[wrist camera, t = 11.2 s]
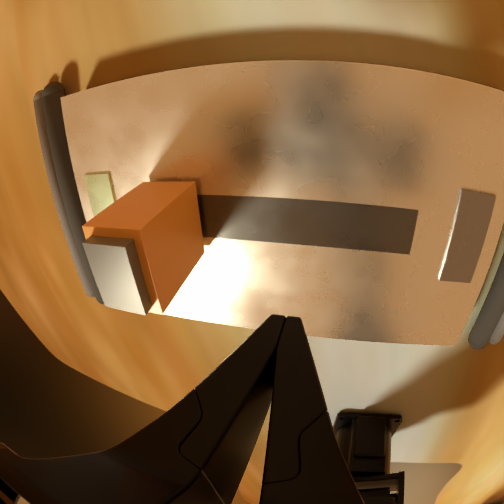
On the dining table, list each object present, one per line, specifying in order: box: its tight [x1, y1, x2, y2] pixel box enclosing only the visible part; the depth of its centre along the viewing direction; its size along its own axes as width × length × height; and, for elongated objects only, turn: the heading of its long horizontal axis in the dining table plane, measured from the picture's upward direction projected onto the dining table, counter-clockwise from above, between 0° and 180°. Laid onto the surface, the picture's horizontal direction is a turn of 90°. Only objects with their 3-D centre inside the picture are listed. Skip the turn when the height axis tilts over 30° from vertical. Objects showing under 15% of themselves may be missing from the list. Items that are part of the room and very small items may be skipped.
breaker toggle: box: [82, 181, 205, 315], centre depth 14 cm, size 4×3×6 cm
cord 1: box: [34, 82, 105, 305], centre depth 20 cm, size 18×3×2 cm, turn 3°
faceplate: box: [61, 60, 504, 345], centre depth 16 cm, size 15×24×2 cm, turn 93°
